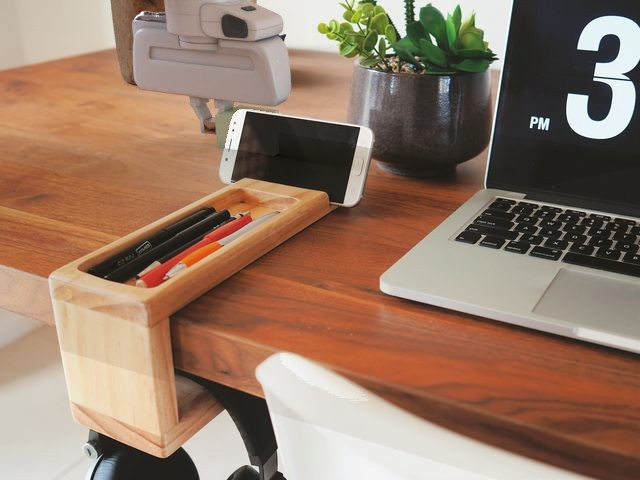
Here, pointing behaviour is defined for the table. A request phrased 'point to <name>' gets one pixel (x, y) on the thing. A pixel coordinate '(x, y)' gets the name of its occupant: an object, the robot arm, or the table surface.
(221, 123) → the cube
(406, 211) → the table surface
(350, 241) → the table surface
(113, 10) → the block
